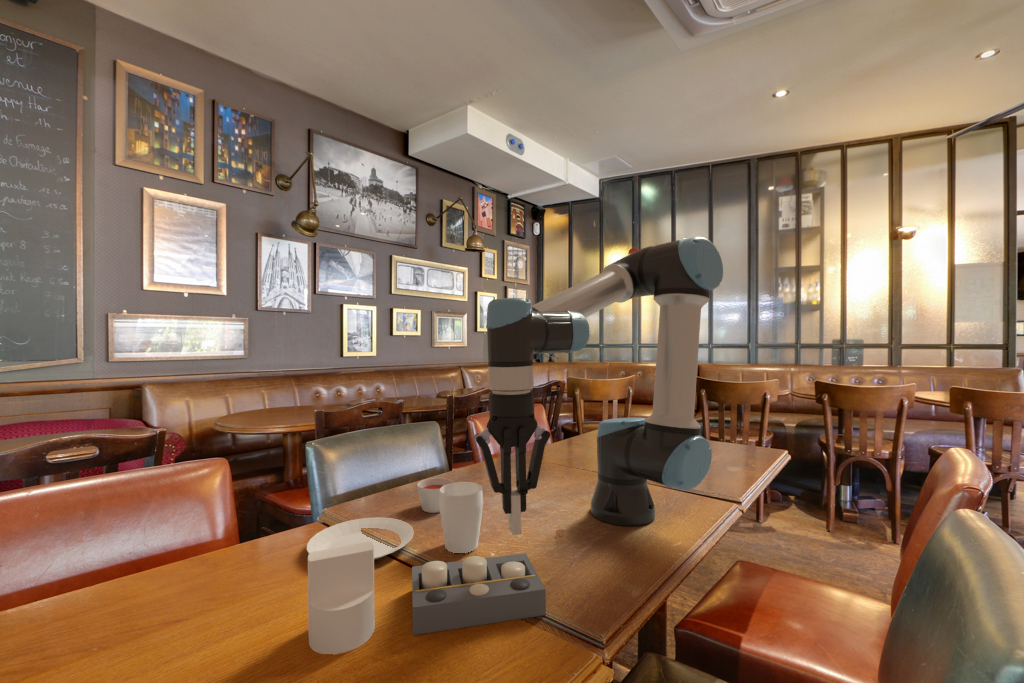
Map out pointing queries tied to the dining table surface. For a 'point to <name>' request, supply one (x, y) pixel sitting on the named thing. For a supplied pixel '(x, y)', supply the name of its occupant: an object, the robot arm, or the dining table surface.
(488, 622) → the board
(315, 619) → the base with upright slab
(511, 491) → the robot arm
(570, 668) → the dining table surface
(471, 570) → the button
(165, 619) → the dining table surface
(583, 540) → the dining table surface
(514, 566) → the button
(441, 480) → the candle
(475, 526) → the cup
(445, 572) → the button
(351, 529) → the plate
